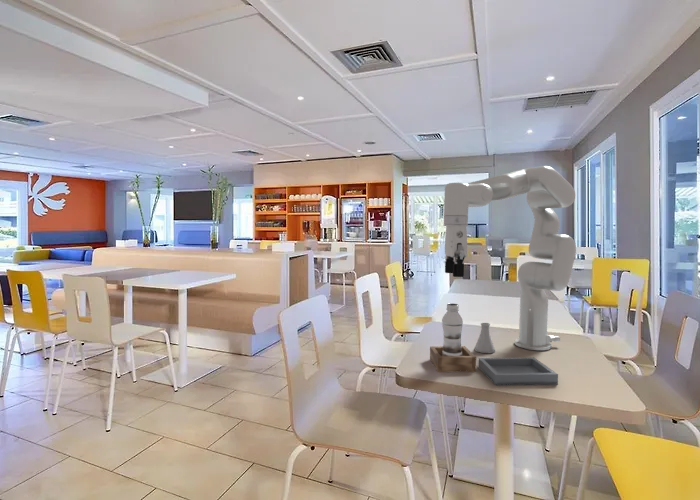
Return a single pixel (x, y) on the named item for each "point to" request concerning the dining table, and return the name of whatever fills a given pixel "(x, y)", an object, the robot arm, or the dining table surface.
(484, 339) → the flask
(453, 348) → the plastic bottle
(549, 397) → the dining table surface
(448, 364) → the holder
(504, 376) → the parts tray
